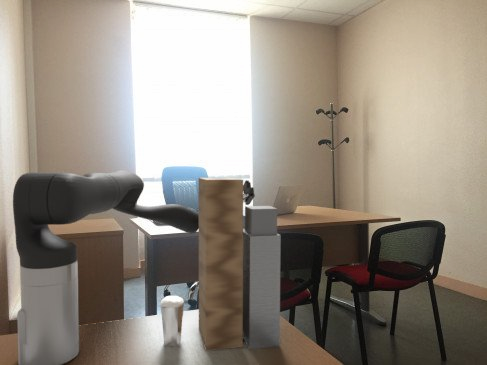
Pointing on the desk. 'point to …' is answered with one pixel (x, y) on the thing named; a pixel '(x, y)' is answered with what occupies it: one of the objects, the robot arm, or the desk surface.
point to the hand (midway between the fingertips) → (231, 183)
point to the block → (260, 220)
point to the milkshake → (172, 319)
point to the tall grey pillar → (261, 290)
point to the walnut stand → (221, 262)
